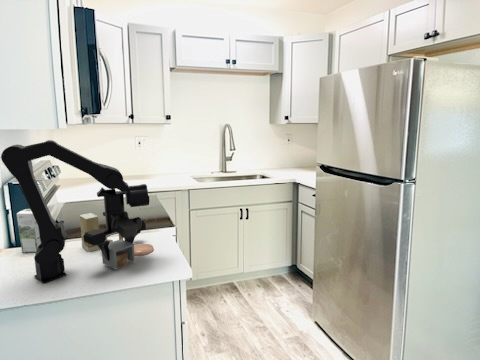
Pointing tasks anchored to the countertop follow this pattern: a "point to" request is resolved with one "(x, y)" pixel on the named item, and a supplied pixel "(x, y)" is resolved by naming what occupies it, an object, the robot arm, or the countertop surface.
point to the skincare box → (88, 229)
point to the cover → (115, 248)
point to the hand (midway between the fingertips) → (118, 256)
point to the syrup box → (28, 231)
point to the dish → (142, 249)
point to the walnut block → (121, 258)
